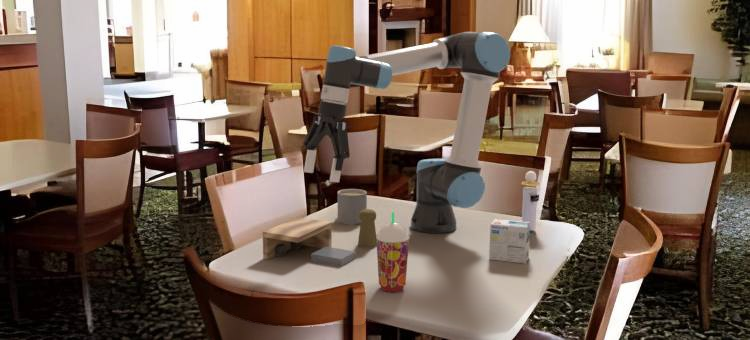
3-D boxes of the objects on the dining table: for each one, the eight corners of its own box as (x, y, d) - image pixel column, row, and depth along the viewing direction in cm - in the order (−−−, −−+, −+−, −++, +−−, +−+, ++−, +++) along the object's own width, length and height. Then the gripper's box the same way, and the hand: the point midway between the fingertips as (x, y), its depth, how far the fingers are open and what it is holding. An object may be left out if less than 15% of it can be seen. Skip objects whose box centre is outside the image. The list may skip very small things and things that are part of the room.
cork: (375, 248, 217) (375, 213, 214) (355, 247, 218) (355, 211, 216) (379, 242, 222) (379, 208, 220) (360, 241, 224) (360, 207, 221)
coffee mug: (368, 223, 244) (368, 195, 242) (338, 224, 242) (338, 195, 240) (363, 213, 257) (363, 186, 255) (335, 214, 255) (335, 187, 253)
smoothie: (374, 283, 187) (374, 208, 183) (406, 282, 188) (407, 207, 184) (377, 294, 179) (377, 216, 175) (410, 293, 180) (411, 216, 176)
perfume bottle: (515, 230, 237) (518, 170, 233) (527, 227, 240) (529, 168, 237) (529, 234, 232) (532, 173, 229) (540, 231, 236) (544, 171, 232)
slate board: (355, 259, 207) (355, 251, 207) (341, 267, 200) (341, 259, 200) (325, 254, 212) (325, 246, 211) (311, 262, 205) (311, 253, 204)
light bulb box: (529, 257, 210) (531, 221, 207) (526, 264, 203) (528, 227, 201) (492, 253, 213) (494, 217, 211) (488, 260, 207) (489, 223, 205)
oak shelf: (331, 248, 217) (331, 222, 215) (298, 265, 201) (298, 237, 199) (298, 242, 222) (297, 217, 220) (263, 258, 206) (262, 231, 205)
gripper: (299, 95, 208) (287, 167, 210) (348, 105, 188) (334, 185, 190) (320, 99, 212) (309, 169, 214) (370, 109, 193) (357, 186, 195)
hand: (320, 177), depth 202 cm, fingers open, 13 cm apart
